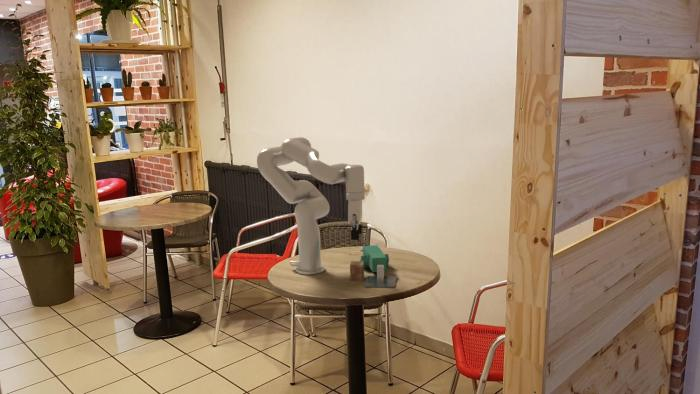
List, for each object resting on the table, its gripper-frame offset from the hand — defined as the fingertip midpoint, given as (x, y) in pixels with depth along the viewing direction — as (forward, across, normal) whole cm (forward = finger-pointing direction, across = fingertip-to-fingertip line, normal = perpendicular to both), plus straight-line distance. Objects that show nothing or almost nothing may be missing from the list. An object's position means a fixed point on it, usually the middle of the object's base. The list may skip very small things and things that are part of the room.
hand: (356, 236), depth 214 cm
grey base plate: (+18, +4, +10) cm, 21 cm away
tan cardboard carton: (+18, 0, 0) cm, 18 cm away
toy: (+18, -18, +5) cm, 26 cm away
